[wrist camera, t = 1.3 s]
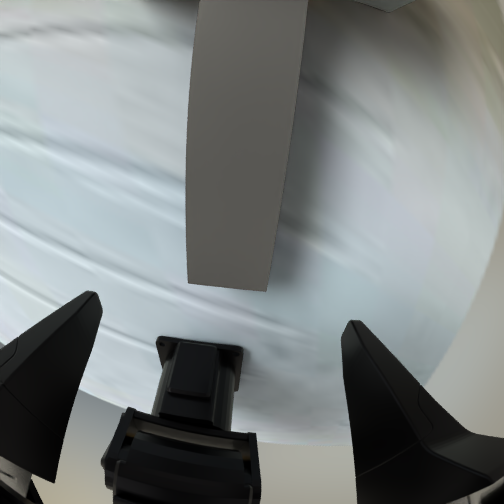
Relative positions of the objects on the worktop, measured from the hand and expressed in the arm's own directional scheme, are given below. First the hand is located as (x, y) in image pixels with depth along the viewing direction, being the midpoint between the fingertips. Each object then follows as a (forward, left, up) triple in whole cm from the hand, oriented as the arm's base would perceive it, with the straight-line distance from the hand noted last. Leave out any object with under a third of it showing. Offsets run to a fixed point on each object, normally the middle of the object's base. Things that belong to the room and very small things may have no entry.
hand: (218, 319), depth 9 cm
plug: (+7, 0, -6) cm, 9 cm away
